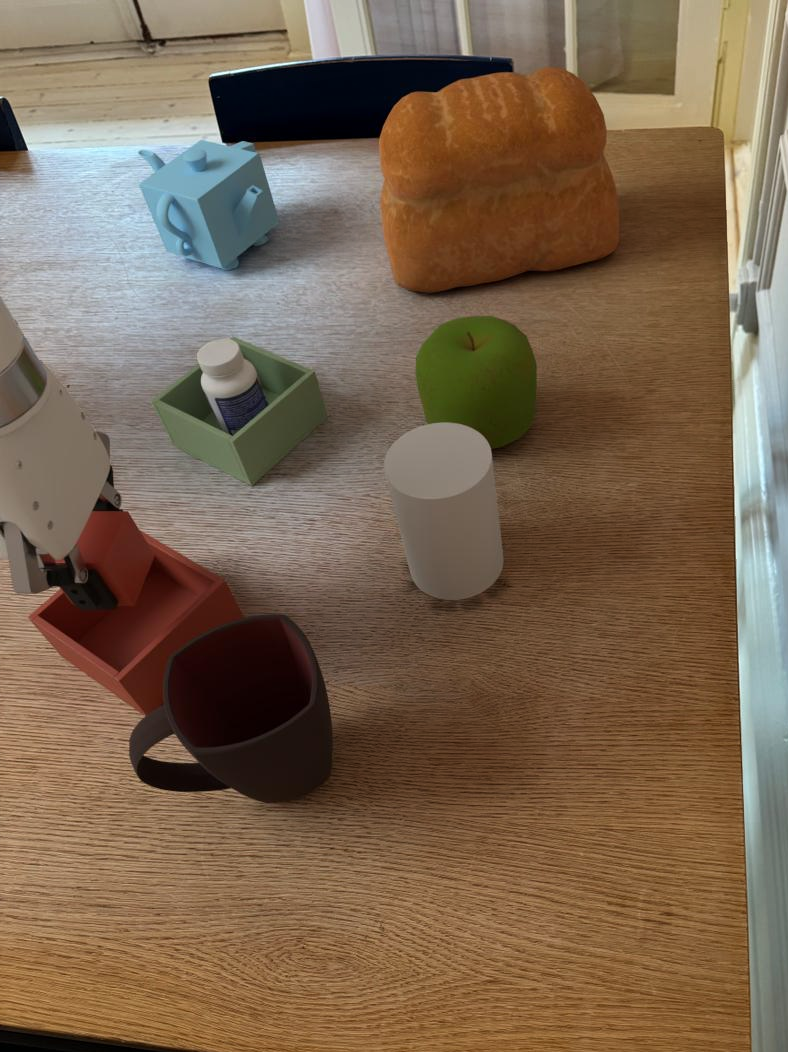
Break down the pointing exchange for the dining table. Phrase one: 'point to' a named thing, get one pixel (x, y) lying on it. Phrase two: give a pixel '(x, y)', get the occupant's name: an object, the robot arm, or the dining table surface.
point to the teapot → (210, 202)
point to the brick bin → (140, 627)
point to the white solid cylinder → (446, 509)
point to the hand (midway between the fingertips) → (110, 574)
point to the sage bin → (265, 435)
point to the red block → (115, 553)
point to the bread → (496, 180)
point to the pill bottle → (230, 385)
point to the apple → (479, 377)
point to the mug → (242, 714)
